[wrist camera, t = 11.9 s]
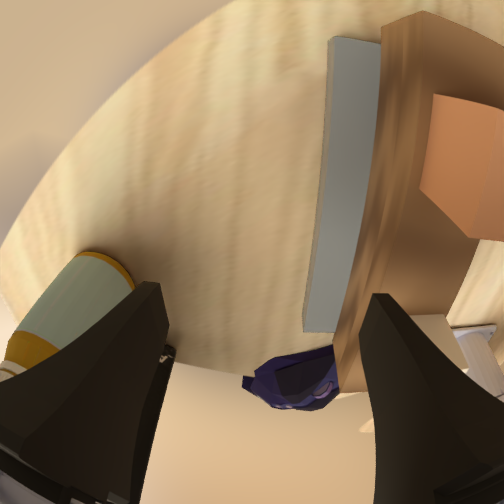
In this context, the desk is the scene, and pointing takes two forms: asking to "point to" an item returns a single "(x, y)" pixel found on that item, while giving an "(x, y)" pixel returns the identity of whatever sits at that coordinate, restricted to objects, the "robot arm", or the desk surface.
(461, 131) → the terracotta box
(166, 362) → the graphics card box
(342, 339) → the brown wooden bar
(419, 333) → the robot arm
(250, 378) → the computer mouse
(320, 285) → the dock
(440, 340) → the beige box
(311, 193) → the desk surface
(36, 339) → the bottle
